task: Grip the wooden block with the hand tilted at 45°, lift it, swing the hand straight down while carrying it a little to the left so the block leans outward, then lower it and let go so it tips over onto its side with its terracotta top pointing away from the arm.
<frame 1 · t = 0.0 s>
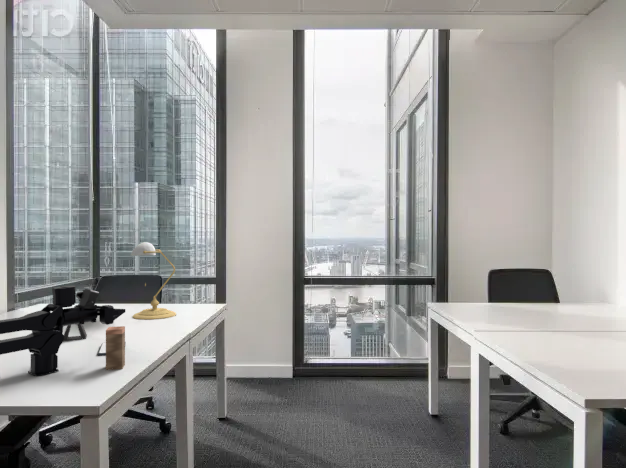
hand: (117, 309, 159), 17 cm above the table, tool horizontal, fingers open, 9 cm apart
phone case: (112, 351, 166), on the table
wooden block: (115, 367, 143), on the table
desk lamp: (153, 316, 235), on the table
phone stand: (74, 339, 183), on the table
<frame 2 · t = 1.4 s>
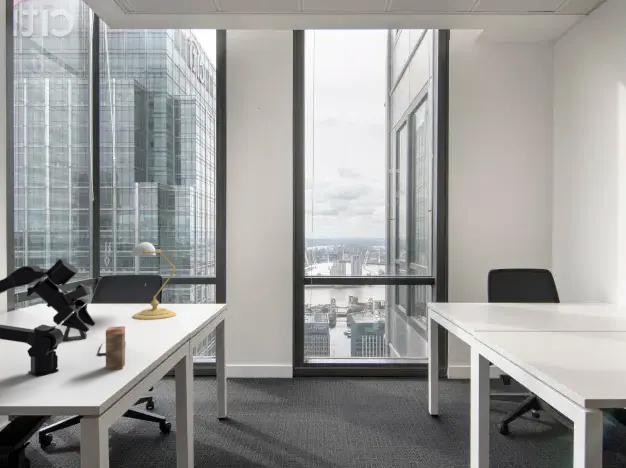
hand: (91, 327, 142), 13 cm above the table, tool tilted 45°, fingers open, 9 cm apart
nothing on the table moved.
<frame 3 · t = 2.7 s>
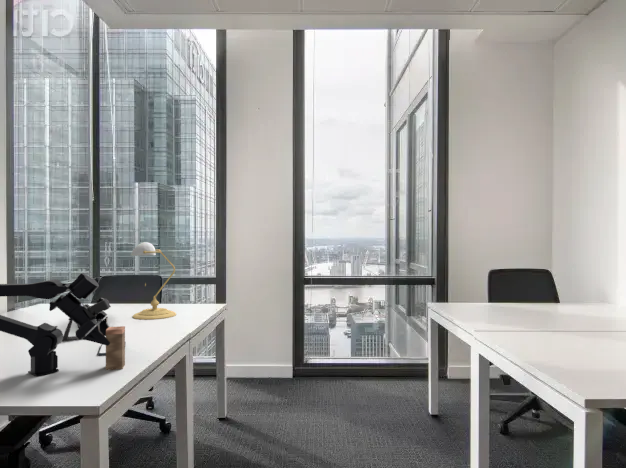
hand: (111, 341, 143), 9 cm above the table, tool tilted 45°, fingers open, 9 cm apart
nothing on the table moved.
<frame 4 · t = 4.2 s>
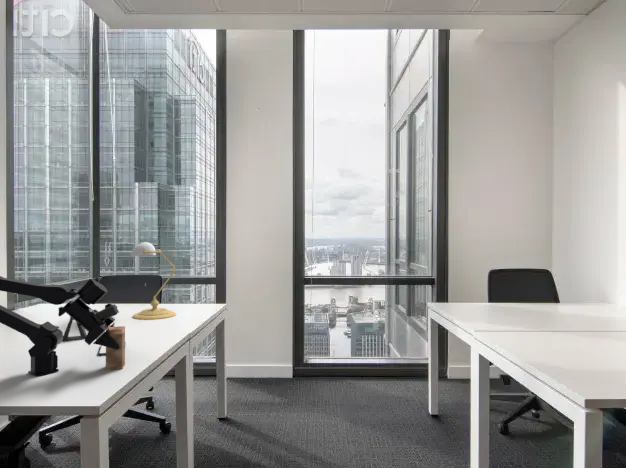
hand: (120, 346, 144), 7 cm above the table, tool tilted 45°, fingers closed on wooden block, 5 cm apart
wooden block: (115, 367, 143), on the table, touching gripper
everything else where it was.
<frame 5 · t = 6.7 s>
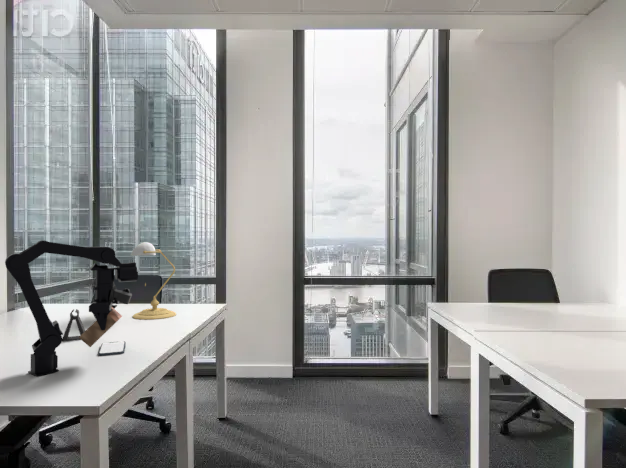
hand: (104, 328, 149), 12 cm above the table, tool pointing down, fingers closed on wooden block, 5 cm apart
wooden block: (86, 340, 147), point 8 cm above the table, tilted 45°, touching gripper
everything else where it was.
when the fingers open (7 cm above the table, at t = 8.5 s): wooden block moves 2 cm and tips over, point 2 cm above the table.
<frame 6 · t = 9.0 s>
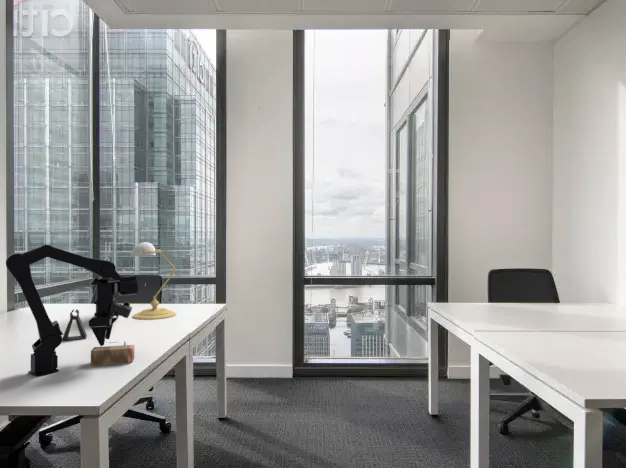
hand: (104, 342, 149), 7 cm above the table, tool pointing down, fingers open, 9 cm apart
wooden block: (92, 356, 147), point 2 cm above the table, tilted 90°
everything else where it was.
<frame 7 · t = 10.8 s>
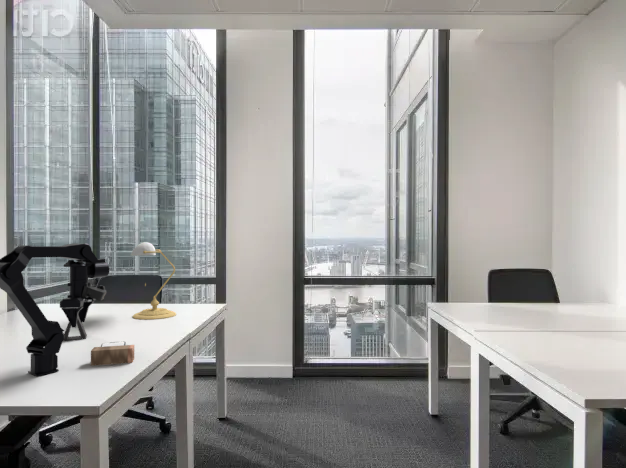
hand: (78, 324, 149), 13 cm above the table, tool pointing down, fingers open, 9 cm apart
nothing on the table moved.
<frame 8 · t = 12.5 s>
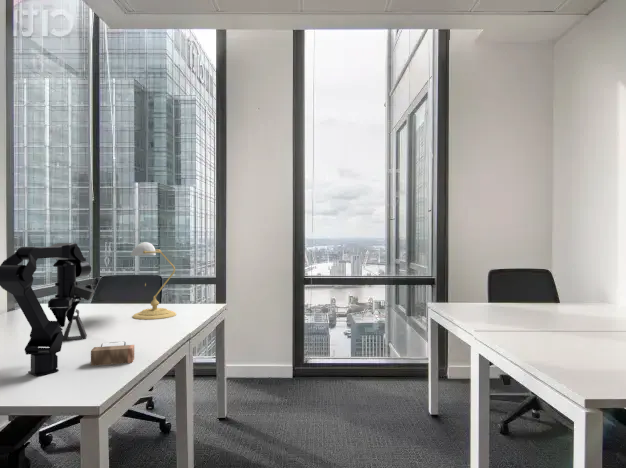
hand: (66, 324, 150), 13 cm above the table, tool pointing down, fingers open, 9 cm apart
nothing on the table moved.
at the end: wooden block tilted 90°; the gripper is holding nothing; wooden block inside the target area (4.3 cm from its centre), point 2.4 cm above the table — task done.
